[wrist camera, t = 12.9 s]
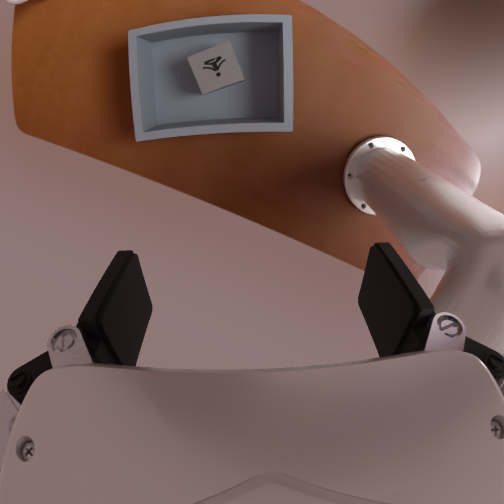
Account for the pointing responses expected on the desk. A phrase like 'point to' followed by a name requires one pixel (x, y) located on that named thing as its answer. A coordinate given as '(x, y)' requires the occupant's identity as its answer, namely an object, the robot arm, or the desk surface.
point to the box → (221, 101)
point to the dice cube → (216, 68)
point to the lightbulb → (16, 1)
